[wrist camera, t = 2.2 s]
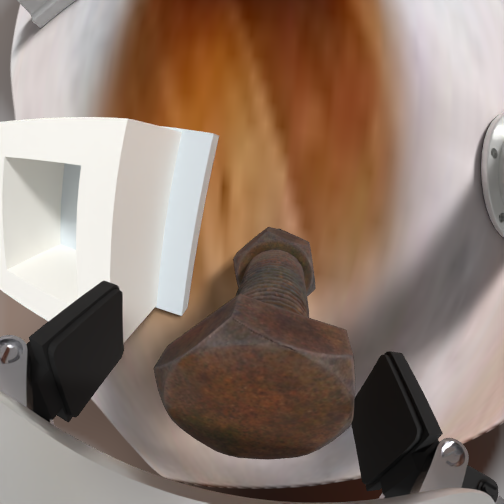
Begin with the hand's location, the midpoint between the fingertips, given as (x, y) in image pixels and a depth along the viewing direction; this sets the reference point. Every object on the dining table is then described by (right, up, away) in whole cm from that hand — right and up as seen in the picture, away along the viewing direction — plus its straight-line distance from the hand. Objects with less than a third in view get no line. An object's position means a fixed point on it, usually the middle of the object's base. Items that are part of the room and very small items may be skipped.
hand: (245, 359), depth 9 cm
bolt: (+2, +4, +12) cm, 13 cm away
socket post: (-12, +8, +12) cm, 19 cm away
